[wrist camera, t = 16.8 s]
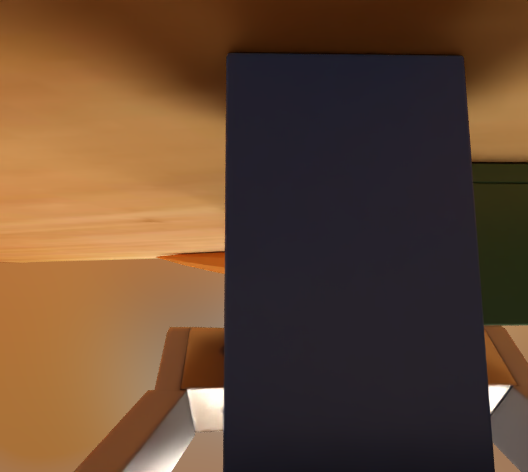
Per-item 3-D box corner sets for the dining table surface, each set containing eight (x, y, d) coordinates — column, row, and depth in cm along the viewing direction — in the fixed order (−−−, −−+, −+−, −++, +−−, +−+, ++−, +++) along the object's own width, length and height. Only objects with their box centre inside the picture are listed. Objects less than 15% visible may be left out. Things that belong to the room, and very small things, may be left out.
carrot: (271, 245, 53) (263, 275, 51) (280, 259, 56) (273, 288, 55) (152, 237, 61) (141, 263, 59) (167, 250, 64) (157, 275, 62)
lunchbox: (263, 161, 15) (263, 327, 14) (579, 163, 15) (597, 325, 15) (258, 222, 30) (258, 305, 29) (421, 222, 30) (426, 305, 29)
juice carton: (226, 51, 8) (220, 826, 6) (465, 53, 8) (522, 813, 6) (234, 123, 12) (232, 630, 10) (400, 124, 12) (426, 625, 10)
